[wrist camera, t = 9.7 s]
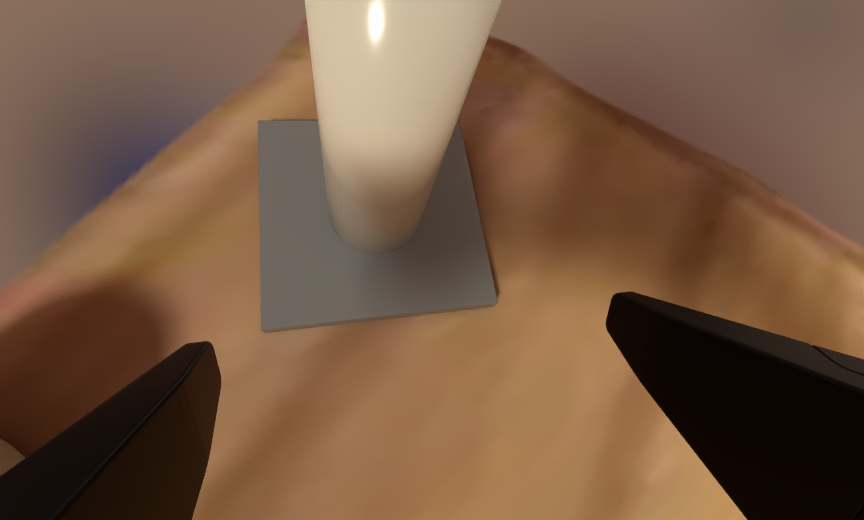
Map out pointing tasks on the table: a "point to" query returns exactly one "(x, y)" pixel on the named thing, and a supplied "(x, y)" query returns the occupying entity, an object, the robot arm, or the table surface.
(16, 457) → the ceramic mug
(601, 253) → the table surface
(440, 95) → the frosted tapered cylinder
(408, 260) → the slate coaster
